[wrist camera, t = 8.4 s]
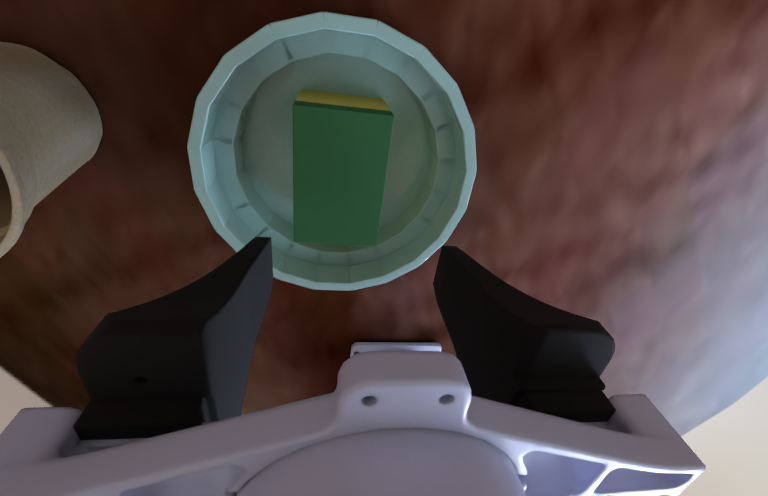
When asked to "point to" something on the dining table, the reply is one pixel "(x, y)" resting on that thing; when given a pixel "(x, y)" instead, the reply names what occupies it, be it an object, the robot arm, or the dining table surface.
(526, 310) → the robot arm
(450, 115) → the bowl
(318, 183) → the sponge
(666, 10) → the dining table surface
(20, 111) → the flower pot
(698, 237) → the dining table surface
